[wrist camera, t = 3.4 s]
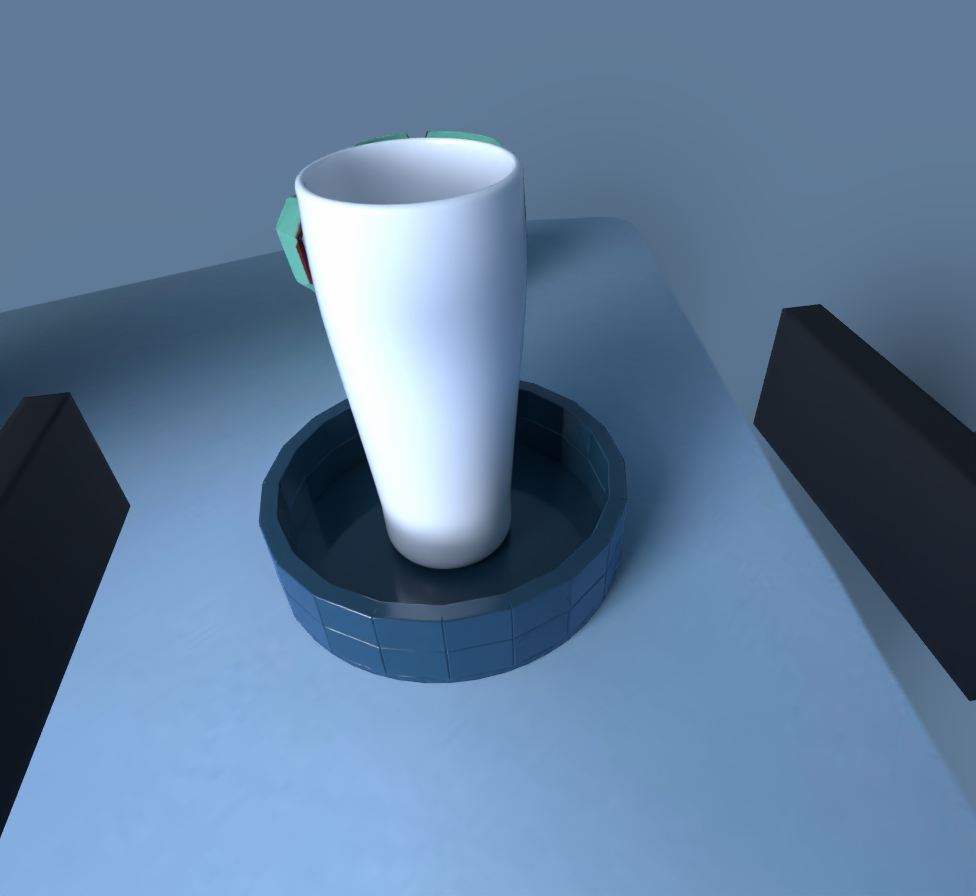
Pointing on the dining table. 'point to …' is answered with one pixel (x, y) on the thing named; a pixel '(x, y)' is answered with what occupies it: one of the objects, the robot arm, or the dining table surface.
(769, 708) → the dining table surface
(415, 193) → the drinking glass
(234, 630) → the dining table surface
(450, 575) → the round dark tray
